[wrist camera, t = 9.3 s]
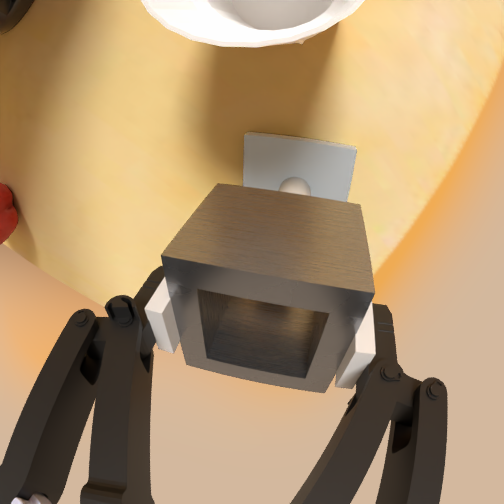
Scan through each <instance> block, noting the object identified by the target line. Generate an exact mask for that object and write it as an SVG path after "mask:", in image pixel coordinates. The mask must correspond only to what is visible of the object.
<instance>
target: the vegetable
mask: <svg viewBox="0 0 504 504" xmlns="http://www.w3.org/2000/svg"><path fill="white" fill-rule="evenodd" d="M12 200H13V197H12V193H11V191H10V190H9V189H8V187H7V186H6V185H4V184H2V183H0V244H2V243H3V242H4V241H5V240H6V239H7V238H8V237H9V236H10V235H11V233H12V232H13V231H14V230H15V228H16V225H17V223H18V215H17V212H16V209H15V208H14V206H13V205H12Z"/></svg>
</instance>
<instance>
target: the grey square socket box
mask: <svg viewBox="0 0 504 504" xmlns="http://www.w3.org/2000/svg"><path fill="white" fill-rule="evenodd" d="M161 259H162V264H163V269H164V274H165V279H166V284H167V288H168V293H169V297H170V299H171V303H172V308H173V312H174V316H175V321H176V325H177V329H178V333H179V337H180V343H181V347H182V350H183V354H184V358H185V361H186V364H187V365H190V366H193V367H197V368H200V369H204V370H208V371H212V372H216V373H220V374H224V375H228V376H232V377H236V378H241V379H246V380H250V381H255V382H260V383H265V384H270V385H275V386H280V387H286V388H293V389H298V390H305V391H312V392H319V393H325V392H326V390H327V388H328V387H329V384H330V383H331V381H332V380H333V378H334V376H335V374H336V371H337V369H338V367H339V366H340V364H341V362H342V360H343V358H344V356H345V354H346V352H347V350H348V348H349V346H350V344H351V342H352V340H353V338H354V336H355V334H357V332H358V329H359V327H360V325H361V323H362V321H363V319H364V317H365V315H366V312H367V310H368V308H369V306H370V303H371V301H372V299H373V297H374V294H375V289H374V282H373V274H372V267H371V261H370V254H369V248H368V242H367V237H366V231H365V226H364V221H363V216H362V211H361V206H360V205H359V204H354V203H348V202H343V201H337V200H332V199H326V198H320V197H314V196H308V195H302V194H295V193H289V192H282V191H275V190H268V189H260V188H253V187H245V186H237V185H228V184H219V183H218V184H217V185H216V186H215V187H214V188H213V190H212V191H211V192H210V193H209V194H208V196H207V197H206V198H205V199H204V201H203V202H202V203H201V204H200V205H199V207H198V208H197V209H196V210H195V212H194V213H193V214H192V215H191V217H190V218H189V219H188V220H187V222H186V223H185V224H184V226H183V227H182V228H181V229H180V231H179V232H178V233H177V235H176V236H175V237H174V238H173V240H172V241H171V242H170V244H169V245H168V246H167V248H166V249H165V250H164V252H163V253H162V254H161Z"/></svg>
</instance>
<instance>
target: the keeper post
mask: <svg viewBox="0 0 504 504" xmlns="http://www.w3.org/2000/svg"><path fill="white" fill-rule="evenodd" d="M356 153H357V149H356V147H355V146H350V145H345V144H339V143H334V142H328V141H321V140H315V139H308V138H301V137H294V136H286V135H277V134H268V133H257V132H247V133H246V134H245V135H244V164H243V186H245V187H253V188H260V189H268V190H275V191H282V192H289V193H295V194H302V195H308V196H314V197H320V198H326V199H332V200H337V201H343V202H347V199H348V194H349V190H350V185H351V180H352V175H353V169H354V164H355V159H356Z"/></svg>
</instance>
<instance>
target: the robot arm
mask: <svg viewBox="0 0 504 504" xmlns="http://www.w3.org/2000/svg"><path fill="white" fill-rule="evenodd" d="M32 2H33V0H0V34H2V33H5V32H7V31H9V30H10V29H12V28H13V27H14V26H15V25H16V24H17V23H18V22H19V21H20V19H21V18H22V17H23V15H24V14H25V13H26V11H27V10H28V8H29V7H30V5H31V3H32ZM105 309H106V311H107V314H108V316H109V317H96V316H95V314H94V313H93V311H91V310H89V309H81V310H78V311H77V312H75V313H74V314H73V315H72V316H71V318H70V319H69V321H68V323H67V324H66V326H65V328H64V329H63V331H62V333H61V335H60V337H59V338H58V340H57V342H56V343H55V345H54V347H53V349H52V351H51V353H50V355H49V356H48V358H47V360H46V362H45V364H44V366H43V368H42V370H41V372H40V374H39V376H38V378H37V380H36V382H35V384H34V386H33V388H32V390H31V392H30V395H29V397H28V399H27V401H26V404H25V406H24V408H23V410H22V412H21V415H20V417H19V419H18V422H17V424H16V427H15V429H14V432H13V435H12V437H11V440H10V443H9V446H8V448H7V451H6V454H5V457H4V460H3V463H2V465H1V466H0V504H57V503H58V501H59V499H60V497H61V495H62V493H63V490H64V488H65V485H66V481H67V478H68V475H69V472H70V469H71V465H72V462H73V459H74V456H75V453H76V450H77V447H78V444H79V441H80V439H81V436H82V433H83V430H84V427H85V425H86V422H87V419H88V416H89V414H90V411H91V409H92V406H93V404H94V401H95V408H94V416H93V425H92V435H91V446H90V461H89V479H88V482H87V484H86V485H84V486H83V488H82V490H81V495H80V504H155V503H154V500H153V499H152V496H151V484H150V411H151V388H152V371H153V357H154V354H153V349H152V348H153V346H154V345H155V343H157V346H158V349H161V350H164V351H167V352H171V353H174V352H175V350H176V348H177V346H178V344H179V342H180V337H179V333H178V329H177V325H176V321H175V316H174V312H173V308H172V303H171V299H170V297H169V293H168V288H167V284H166V279H165V274H164V269H163V266H160V267H158V268H157V269H156V270H154V271H153V272H152V273H151V274H150V276H149V277H148V279H147V281H145V283H144V284H143V287H141V289H140V290H139V292H138V293H137V295H136V296H135V297H134V299H132V298H131V297H129V296H126V295H119V296H115V297H113V298H111V299H110V300H109V301H108V302H107V303H106V305H105ZM355 384H356V393H355V395H354V396H353V397H352V399H351V400H350V401H349V402H348V405H349V406H348V408H347V410H346V412H345V414H344V416H343V417H342V419H341V422H340V423H339V425H338V427H337V429H336V431H335V433H334V434H333V436H332V438H331V440H330V442H329V444H328V445H327V447H326V449H325V450H324V452H323V454H322V455H321V457H320V459H319V460H318V462H317V464H316V465H315V467H314V469H313V470H312V472H311V473H310V475H309V476H308V478H307V480H306V481H305V483H304V484H303V486H302V487H301V489H300V490H299V492H298V493H297V495H296V496H295V497H294V499H293V500H292V502H291V503H290V504H350V503H351V501H352V499H353V497H354V496H355V494H356V492H357V490H358V488H359V487H360V485H361V483H362V481H363V479H364V477H365V475H366V473H367V471H368V469H369V467H370V465H371V463H372V461H373V459H374V456H375V454H376V452H377V450H378V448H379V445H380V443H381V441H382V438H383V436H384V433H385V431H386V428H387V426H388V423H389V421H390V420H391V426H390V434H389V440H388V447H387V453H386V458H385V464H384V469H383V474H382V479H381V483H380V488H379V492H378V496H377V500H376V504H439V502H440V495H441V490H442V483H443V475H444V466H445V456H446V442H447V390H446V387H445V385H444V383H443V382H442V381H440V380H439V379H437V378H434V377H433V378H427V379H425V380H424V381H423V382H422V381H419V380H417V379H414V378H411V377H409V376H408V375H406V374H405V373H403V369H402V368H401V367H400V365H399V364H398V363H397V354H396V344H395V336H394V327H393V320H392V314H391V312H390V311H389V309H388V307H387V306H386V305H381V304H374V303H372V301H371V303H370V306H369V308H368V310H367V312H366V315H365V317H364V319H363V321H362V323H361V325H360V327H359V329H358V332H357V334H355V336H354V338H353V340H352V342H351V344H350V346H349V348H348V350H347V352H346V354H345V356H344V358H343V360H342V362H341V364H340V366H339V367H338V369H337V371H336V383H335V387H341V388H349V389H352V388H353V387H354V385H355ZM95 398H96V400H95Z"/></svg>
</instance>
